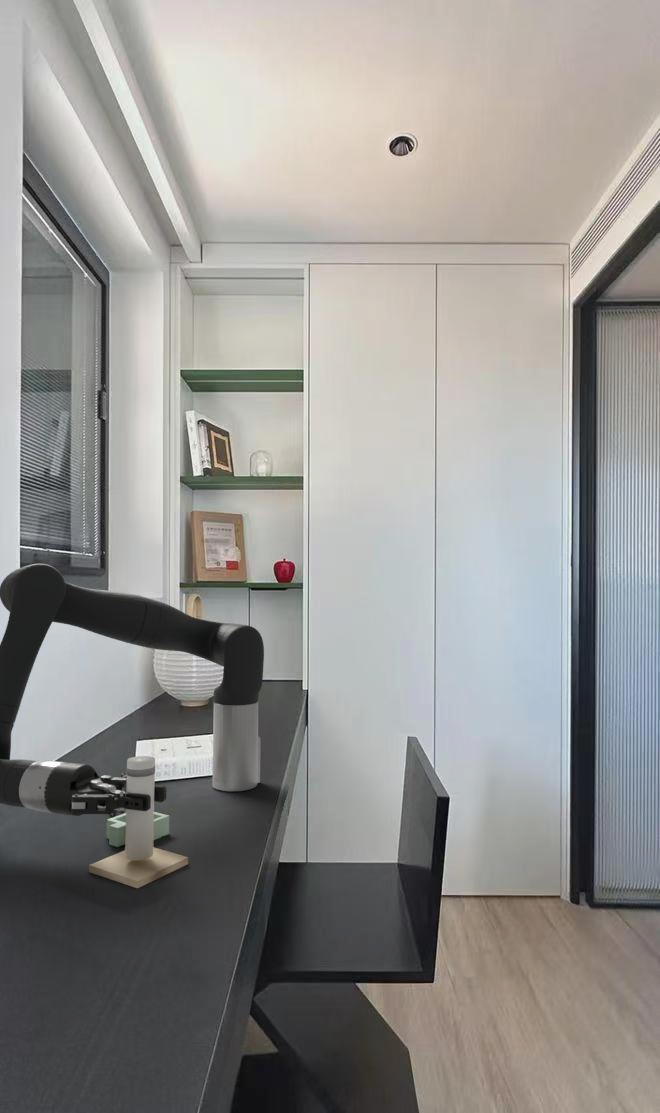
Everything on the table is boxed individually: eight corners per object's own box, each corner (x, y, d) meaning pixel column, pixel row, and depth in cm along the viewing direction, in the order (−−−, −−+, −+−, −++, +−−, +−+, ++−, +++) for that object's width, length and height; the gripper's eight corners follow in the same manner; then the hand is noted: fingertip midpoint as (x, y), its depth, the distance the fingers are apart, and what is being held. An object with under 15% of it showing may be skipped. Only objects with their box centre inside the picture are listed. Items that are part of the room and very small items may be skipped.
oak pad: (141, 849, 112) (141, 843, 112) (188, 864, 106) (188, 857, 106) (89, 872, 103) (89, 865, 103) (137, 888, 98) (137, 881, 98)
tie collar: (139, 825, 123) (139, 808, 123) (169, 833, 119) (169, 815, 119) (98, 841, 115) (98, 822, 115) (129, 850, 111) (129, 831, 112)
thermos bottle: (139, 847, 108) (141, 754, 108) (159, 853, 105) (161, 758, 106) (118, 856, 104) (120, 760, 105) (138, 862, 102) (140, 764, 102)
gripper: (27, 774, 103) (130, 786, 98) (87, 752, 116) (181, 761, 111) (25, 827, 102) (129, 841, 97) (87, 798, 116) (181, 809, 111)
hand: (156, 798), depth 104 cm, fingers closed on thermos bottle, 3 cm apart
